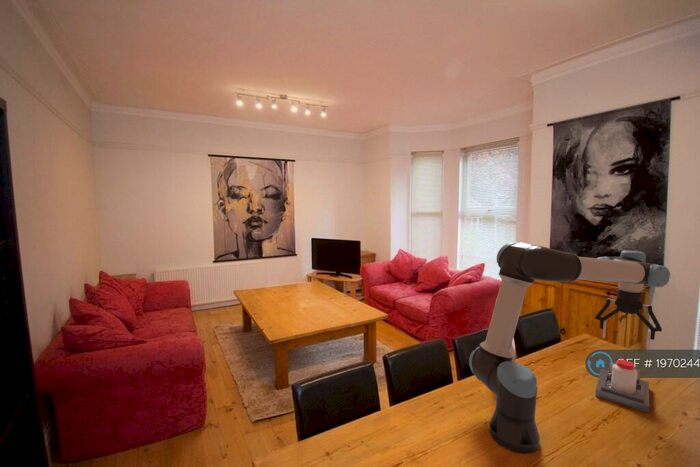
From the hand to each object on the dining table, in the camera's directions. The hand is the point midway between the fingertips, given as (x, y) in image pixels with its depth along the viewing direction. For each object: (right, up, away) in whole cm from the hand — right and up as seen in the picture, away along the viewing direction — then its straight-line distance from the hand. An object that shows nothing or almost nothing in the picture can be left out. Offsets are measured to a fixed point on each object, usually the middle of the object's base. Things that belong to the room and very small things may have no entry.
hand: (625, 341), depth 131 cm
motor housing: (+3, -22, +4) cm, 23 cm away
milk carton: (-45, -22, +9) cm, 51 cm away
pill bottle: (+1, -20, +2) cm, 20 cm away
